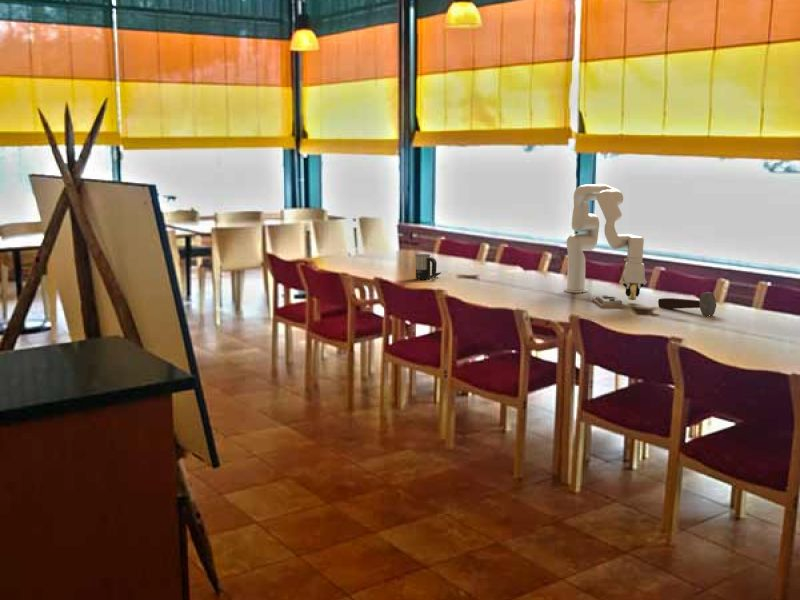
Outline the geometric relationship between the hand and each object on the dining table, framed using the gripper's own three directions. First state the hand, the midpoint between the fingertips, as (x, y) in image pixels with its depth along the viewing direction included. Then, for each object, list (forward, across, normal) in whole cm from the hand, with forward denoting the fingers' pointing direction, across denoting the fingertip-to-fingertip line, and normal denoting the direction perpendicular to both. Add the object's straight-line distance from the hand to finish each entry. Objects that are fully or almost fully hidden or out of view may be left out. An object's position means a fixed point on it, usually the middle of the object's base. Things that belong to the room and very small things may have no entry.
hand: (632, 295), depth 437 cm
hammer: (+4, +20, -22) cm, 30 cm away
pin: (+2, 0, 0) cm, 2 cm away
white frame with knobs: (+4, -13, -3) cm, 13 cm away
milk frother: (+7, -102, +81) cm, 130 cm away
